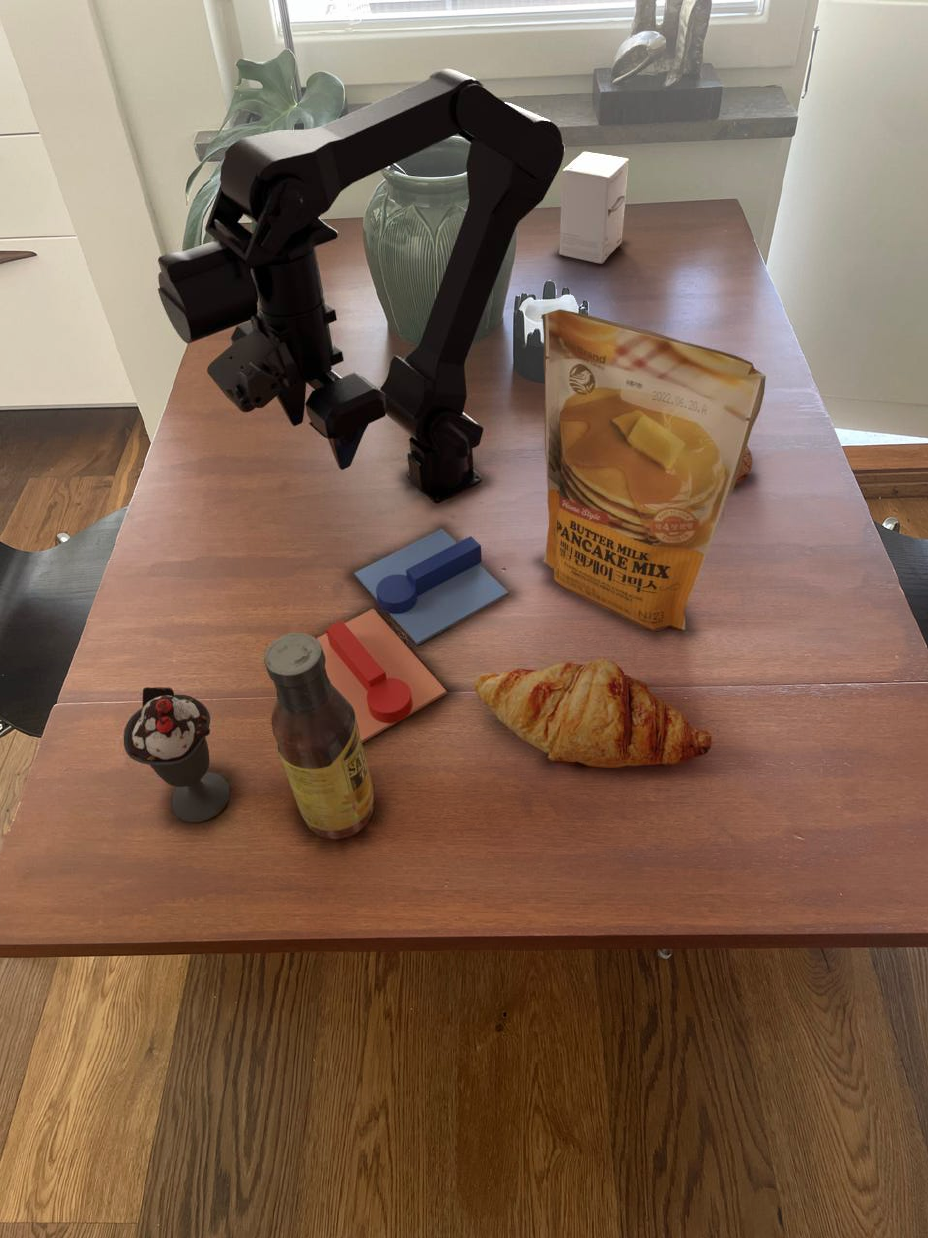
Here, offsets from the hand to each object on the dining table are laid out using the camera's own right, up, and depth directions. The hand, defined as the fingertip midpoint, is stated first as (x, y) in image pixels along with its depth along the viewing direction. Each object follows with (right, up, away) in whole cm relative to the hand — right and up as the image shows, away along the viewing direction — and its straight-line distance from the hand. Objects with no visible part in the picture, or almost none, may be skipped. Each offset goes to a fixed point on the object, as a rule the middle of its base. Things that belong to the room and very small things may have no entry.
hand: (320, 445), depth 91 cm
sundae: (-8, -33, -13) cm, 36 cm away
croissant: (+25, -27, -10) cm, 38 cm away
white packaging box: (+34, +39, +48) cm, 70 cm away
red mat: (+5, -23, -5) cm, 24 cm away
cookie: (+42, 0, +14) cm, 44 cm away
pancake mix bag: (+30, -14, +1) cm, 33 cm away
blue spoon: (+12, -13, +3) cm, 18 cm away
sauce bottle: (+4, -33, -14) cm, 36 cm away
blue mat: (+11, -14, +3) cm, 18 cm away
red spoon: (+5, -22, -5) cm, 23 cm away
